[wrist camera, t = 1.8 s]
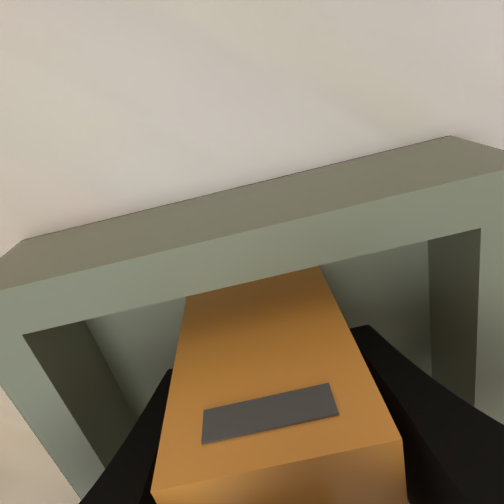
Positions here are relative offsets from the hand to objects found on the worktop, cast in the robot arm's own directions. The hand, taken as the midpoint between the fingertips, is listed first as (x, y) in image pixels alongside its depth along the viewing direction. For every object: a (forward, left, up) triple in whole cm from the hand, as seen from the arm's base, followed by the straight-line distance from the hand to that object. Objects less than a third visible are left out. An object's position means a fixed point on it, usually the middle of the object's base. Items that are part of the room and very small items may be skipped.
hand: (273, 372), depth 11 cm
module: (0, 0, -1) cm, 1 cm away
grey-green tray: (0, -5, -2) cm, 6 cm away
